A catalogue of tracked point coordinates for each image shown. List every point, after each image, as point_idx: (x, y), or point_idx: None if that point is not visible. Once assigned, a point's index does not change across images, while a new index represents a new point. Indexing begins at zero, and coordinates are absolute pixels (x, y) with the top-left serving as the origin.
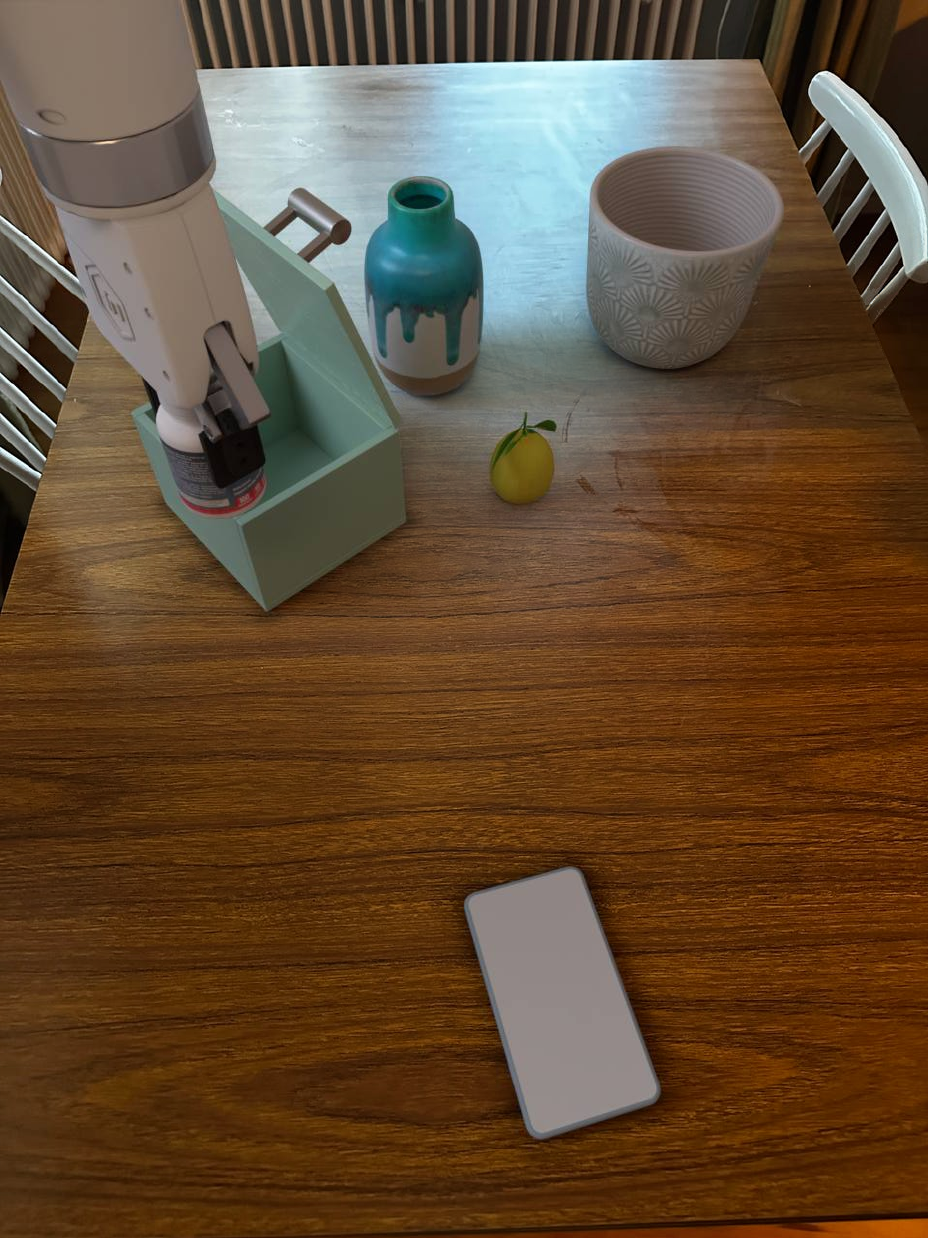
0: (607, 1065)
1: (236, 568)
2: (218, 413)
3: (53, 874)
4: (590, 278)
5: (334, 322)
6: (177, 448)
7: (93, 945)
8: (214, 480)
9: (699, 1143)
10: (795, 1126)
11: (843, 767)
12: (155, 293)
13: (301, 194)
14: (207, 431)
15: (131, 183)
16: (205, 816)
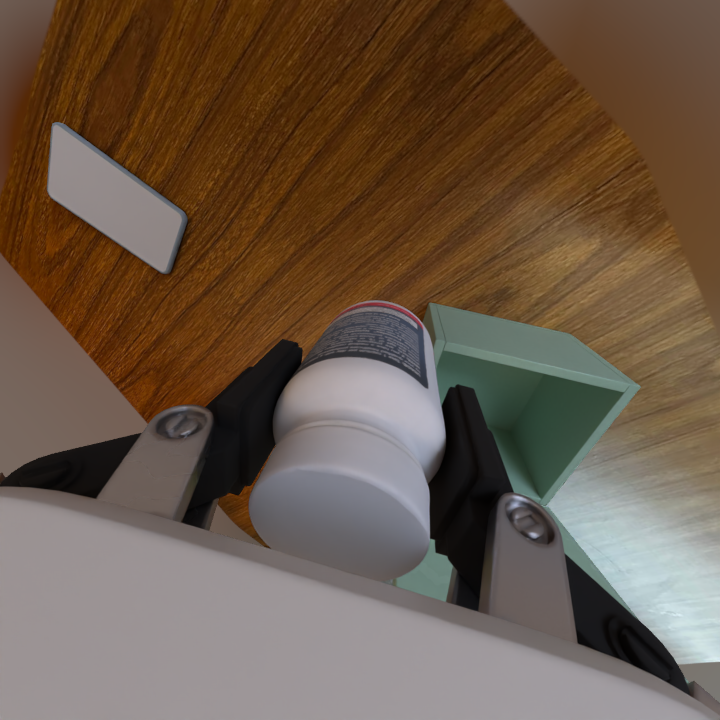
0: (70, 188)
1: (464, 315)
2: (87, 490)
3: None
4: (390, 582)
5: (414, 575)
6: (333, 359)
7: None
8: (282, 344)
9: (35, 191)
10: (27, 230)
11: (146, 389)
12: None
13: None
14: (198, 423)
15: None
16: (346, 136)
